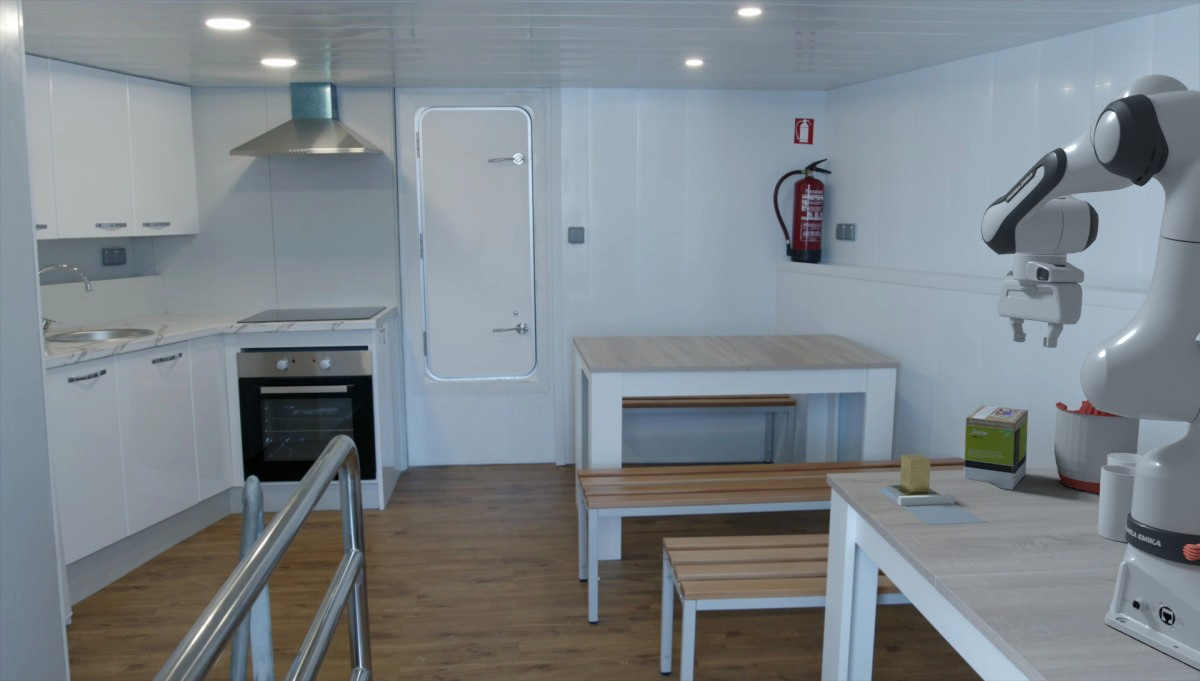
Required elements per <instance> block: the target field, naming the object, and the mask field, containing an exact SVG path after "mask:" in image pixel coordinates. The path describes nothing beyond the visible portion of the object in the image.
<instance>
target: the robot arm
mask: <svg viewBox="0 0 1200 681" xmlns="http://www.w3.org/2000/svg"><path fill="white" fill-rule="evenodd" d="M1152 178H1153V179H1155V180H1157V181H1158V182H1159V184H1160V185H1161V186H1162V189H1163V191H1164V196H1165V200H1164V206H1163V207H1164V208H1163V213H1162V217H1161V222H1160V223H1161V224H1160V231H1159V238H1158V244H1157V245H1158V246H1157V252H1156V260H1155V265H1154V269H1153V274H1152V279H1151V283H1150V287H1149V289H1148V292H1147V295H1146V297H1145V299H1144V301H1143V303H1142V305H1141V306H1140V308H1139V309H1138V311H1137V312H1136V313H1135V315H1133V317H1132V319H1131V320H1129V321H1128V323H1127V324H1126V325H1124V326H1123V327H1122V328H1120V329H1119V331H1117V332H1116V333H1113V335H1111V336H1110V337H1108V338H1106V339H1104V340H1103V341H1100V342H1099V343H1097V344H1096V345H1095V346H1094V347H1092V349H1091V350H1090V351H1089V352H1088V353H1087V355H1086V356H1085V358H1084V360H1083V362H1082V364H1081V368H1080V375H1079V376H1080V377H1079V378H1080V379H1079V380H1080V386H1081V389H1082V393H1083V394H1084V396H1085V398H1086V400H1088V401H1089V402H1090V403H1091V405H1092V406H1093V407H1094V408H1095V409H1097V410H1099V411H1103V412H1107V413H1110V414H1114V415H1119V416H1123V417H1128V418H1132V419H1140V420H1147V421H1151V420H1152V421H1164V422H1165V421H1166V422H1181V423H1182V422H1184V423H1188V425H1187V427H1186V429H1185V430H1184V432H1183V433H1182V434H1181V435H1180V436H1179V437H1178V438H1176V439H1175V440H1174V441H1171V442H1169V443H1166V444H1163V445H1161V446H1157V447H1155V448H1153V449H1150V450H1149V451H1147V452H1146V453H1144V454H1143V456H1142V457H1141V458H1140V459H1139V461H1138V462H1137V464H1136V466H1135V471H1134V484H1133V496H1132V509H1131V512H1130V513H1129V514H1128V516H1127V523H1126V524H1125V529H1126V533H1125V539H1126V540H1127V542H1126V543H1127V547H1126V551H1125V553H1124V555H1123V558H1122V560H1121V562H1120V565H1119V568H1118V573H1117V578H1116V582H1115V587H1114V592H1113V597H1112V600H1111V603H1110V606H1109V610H1108V611H1107V612H1106V614H1105V617H1104V623H1105V624H1106V625H1108V626H1110V627H1112V628H1114V629H1116V630H1118V631H1120V632H1122V633H1124V634H1126V635H1128V636H1130V637H1132V638H1134V639H1136V640H1138V641H1140V642H1142V643H1144V644H1146V645H1149V646H1150V647H1152V648H1154V649H1157V650H1158V651H1160V652H1162V653H1165V654H1167V655H1168V656H1171V657H1172V658H1174V659H1177V660H1178V661H1181V662H1183V663H1185V664H1187V665H1189V666H1191V667H1193V668H1195V669H1197V670H1199V671H1200V340H1198V339H1197V337H1198V335H1199V334H1200V91H1199V90H1195V89H1189V88H1188V87H1187V86H1186V85H1185V84H1184V83H1183V82H1182V81H1180V80H1178V79H1177V78H1175V77H1172V76H1169V75H1165V74H1150V75H1149V74H1148V75H1145V76H1142V77H1139V78H1137V79H1135V80H1133V81H1132V82H1130V83H1129V84H1127V85H1126V86H1125V87H1124V88H1123V89H1122V90H1120V91H1119V93H1117V94H1116V96H1114V97H1113V98H1112V99H1111V100H1110V102H1108V104H1106V106H1105V107H1104V108H1103V109H1102V110H1101V112H1100V113H1099V114H1098V116H1097V117H1096V119H1095V120H1094V121H1093V122H1092V124H1091V125H1090V126H1089V127H1087V128H1086V129H1085V130H1084V131H1083V132H1081V133H1080V134H1079V135H1077V136H1076V137H1075V138H1073V139H1071V140H1070V141H1068V142H1067V143H1065V144H1063V145H1062V146H1060V147H1057V148H1055V149H1053V150H1051V151H1050V152H1048V153H1046V154H1045V155H1043V157H1041V158H1040V159H1039V160H1038V161H1037V162H1036V163H1035V164H1034V165H1032V167H1031V168H1030V169H1029V170H1028V171H1027V172H1026V173H1025V174H1024V175H1023V176H1022V177H1021V178H1020V179H1019V180H1018V181H1017V182H1016V183H1015V184H1014V185H1013V186H1012V187H1011V188H1010V189H1009V190H1008V191H1007V193H1005V194H1004V195H1002V196H1000V197H998V198H997V199H996V200H994V201H993V202H992V203H990V205H989V206H988V207H987V209H986V210H985V212H984V214H983V217H982V220H981V225H980V226H981V228H980V230H981V231H980V233H981V239H982V240H983V242H984V243H985V245H987V247H988V248H989V249H991V250H992V251H993V252H994V253H996V254H997V255H998V256H999V255H1002V256H1003V255H1014V257H1013V268H1012V270H1009V272H1008V273H1006V275H1005V276H1004V280H1003V281H1002V283H1001V285H1000V287H999V294H998V299H997V300H998V302H997V313H998V315H999V316H1000V317H1005V318H1009V326H1010V329H1011V331H1012V341H1013V342H1015V343H1025V342H1026V336H1027V333H1026V332H1024V327H1023V324H1024V323H1025V320H1026V321H1033V322H1039V323H1040V322H1041V323H1047V330H1048V332H1047V335H1046V336H1045V337H1043V340H1042V341H1043V343H1042V346H1043V347H1044V348H1048V349H1051V348H1052V349H1055V348H1057V347H1058V338H1059V337H1060V335H1061V334H1062V332H1063V330H1064V325H1077V323H1078V322H1079V321H1080V318H1081V315H1082V307H1083V289H1082V286H1081V283H1083V282H1084V281H1085V272H1084V271H1083V270H1082V269H1080V268H1078V267H1077V266H1075V265H1074V264H1071V263H1070V262H1068V255H1071V254H1077V253H1083V252H1084V251H1086V250H1087V249H1088V248H1089V247H1091V245H1093V244H1094V242H1096V240H1097V238H1098V237H1097V236H1098V232H1099V224H1100V223H1099V221H1100V220H1099V213H1098V212H1097V210H1096V209H1095V208H1094V206H1093V205H1092V204H1090V202H1088V201H1086V200H1081V199H1079V198H1077V197H1074V196H1073V195H1078V194H1088V193H1097V192H1099V193H1100V192H1111V191H1112V192H1113V191H1119V190H1123V189H1126V188H1129V187H1131V186H1134V185H1135V186H1137V187H1143V186H1145V185H1146V184H1148V182H1150V180H1152Z"/></svg>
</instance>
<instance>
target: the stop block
mask: <svg viewBox="0 0 1200 681" xmlns="http://www.w3.org/2000/svg"><path fill="white" fill-rule="evenodd" d="M900 462H901V463H900V479H899V480H900V482H899V485H900V492H902V493H903V494H905V495H929V488H930V477H931V476H930V474H931V458H929V457H928V456H925V455H923V454H921V453H909V454H907V453H905V454H901V459H900Z"/></svg>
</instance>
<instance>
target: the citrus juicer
mask: <svg viewBox="0 0 1200 681" xmlns="http://www.w3.org/2000/svg"><path fill="white" fill-rule="evenodd" d="M1055 408H1056V412H1055V413H1056V416H1055V429H1054V431H1055V432H1054V448H1053V449H1054V459H1055V464H1056V469H1057V475H1058V477H1059V479H1060V481H1061V483H1062V484H1063V485H1065V486H1067V487H1068V488H1069V487H1070V488H1073V489H1077V490H1081V491H1085V492H1086V493H1090V494H1097V493H1100V480H1101V467H1102V466H1106V465H1107V455H1108V454H1111V453H1130V454H1137V455H1138V446H1139V445H1138V444H1139V432H1140V431H1139V430H1140V423H1141V422H1140V420H1141V419H1132V418H1128V417H1123V416H1119V415H1114V414H1110V413H1107V412H1103V411H1099V410H1097V409H1095V408H1094V407H1093V406H1092V405H1091V403H1090V402H1089V401H1088V399H1086V400H1082V401H1081V406H1080V407H1079V409H1078V410H1077V409H1076V410H1070V409H1068V405H1067V404H1065V403H1063V402H1062V401H1060V402H1056V403H1055Z"/></svg>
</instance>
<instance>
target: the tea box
mask: <svg viewBox="0 0 1200 681" xmlns="http://www.w3.org/2000/svg"><path fill="white" fill-rule="evenodd" d="M965 418H966V419H965V428H964V430H965V435H964V437H965V438H964V454H963V456H964V457H963V459H964V460H963V461H964V463H963V479H966V480H971V481H978V482H984V483H988V484H990V485H992V486H994V487H996V488H999V489H1001V490H1002V489H1003V490H1007V491H1008V490H1013V489H1014V488H1015V487H1016V485H1017V484H1018V483H1019V482H1020V481H1021V480H1022V478H1023V477H1024V476H1025V475H1026V474H1027V454H1028V453H1027V450H1028V449H1027V448H1028V444H1027V443H1028V422H1029V410H1028V409H1022V408H1021V409H1020V408H1012V407H1010V408H1009V407H1001V406H987V405H981V406H979V407H978V408H977V409H975V411H973V412H972V413H971V414H969V415H968V416H966V417H965Z"/></svg>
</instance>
